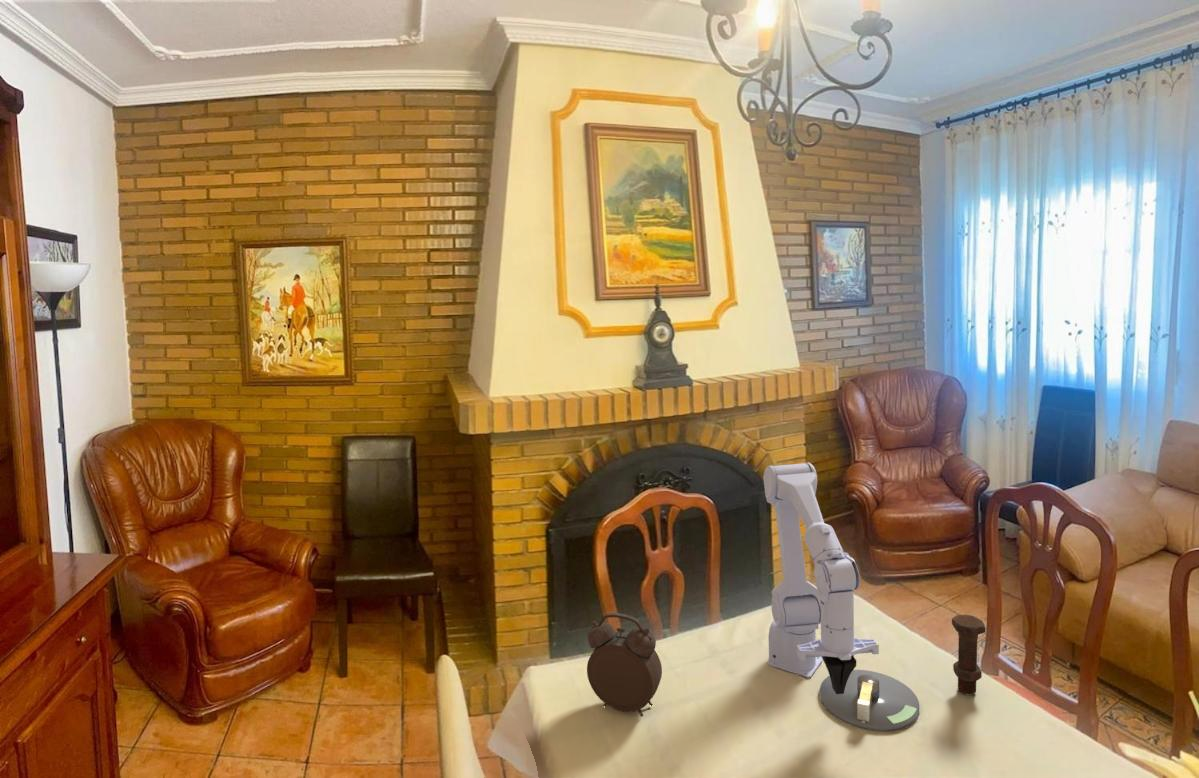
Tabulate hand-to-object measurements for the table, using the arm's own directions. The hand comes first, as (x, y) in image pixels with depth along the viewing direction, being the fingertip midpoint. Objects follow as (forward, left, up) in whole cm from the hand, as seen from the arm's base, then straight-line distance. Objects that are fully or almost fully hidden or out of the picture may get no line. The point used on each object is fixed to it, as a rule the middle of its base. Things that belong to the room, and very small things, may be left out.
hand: (838, 690), depth 122 cm
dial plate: (+3, +10, -7) cm, 12 cm away
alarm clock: (-36, -17, -7) cm, 41 cm away
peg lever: (+3, +6, -5) cm, 9 cm away
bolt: (+18, +23, -7) cm, 30 cm away
